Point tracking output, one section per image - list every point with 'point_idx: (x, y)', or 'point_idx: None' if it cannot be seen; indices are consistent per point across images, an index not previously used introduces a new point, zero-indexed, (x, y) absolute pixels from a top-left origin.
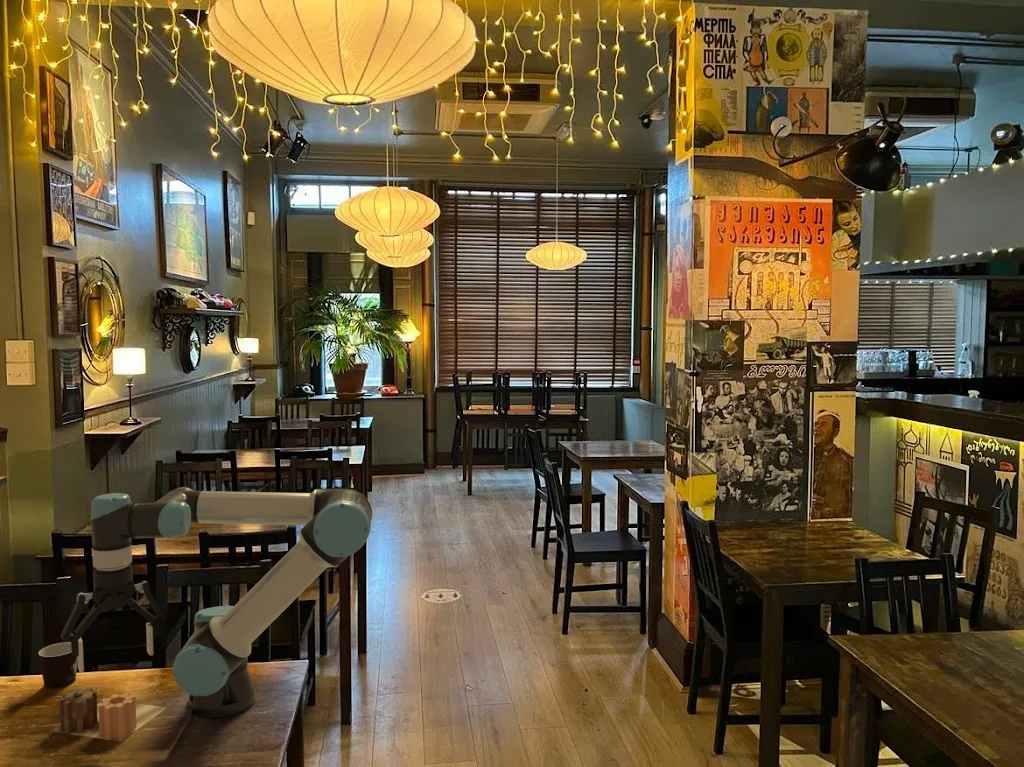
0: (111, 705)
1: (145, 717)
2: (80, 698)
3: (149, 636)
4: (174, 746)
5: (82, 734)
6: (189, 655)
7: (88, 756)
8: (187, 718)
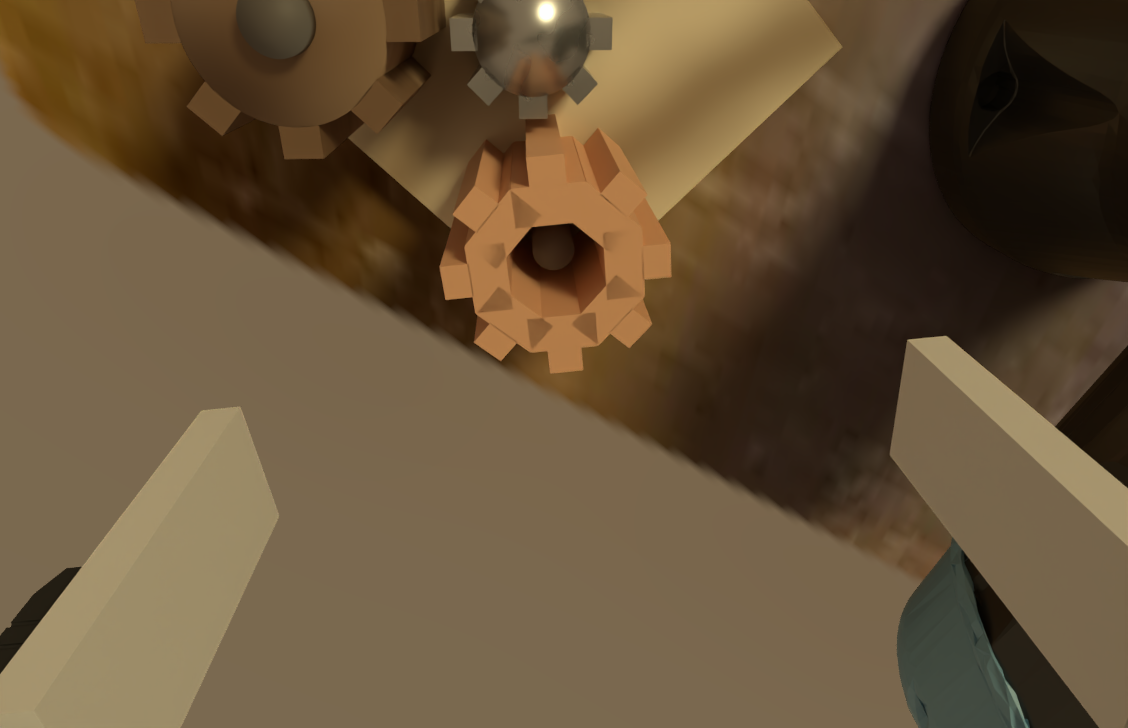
0: (518, 327)
1: (703, 116)
2: (306, 91)
3: (1019, 617)
4: (754, 400)
5: (369, 140)
6: None
7: (414, 306)
8: (891, 166)
